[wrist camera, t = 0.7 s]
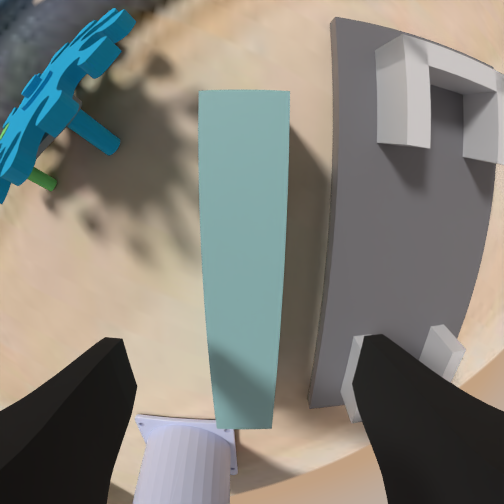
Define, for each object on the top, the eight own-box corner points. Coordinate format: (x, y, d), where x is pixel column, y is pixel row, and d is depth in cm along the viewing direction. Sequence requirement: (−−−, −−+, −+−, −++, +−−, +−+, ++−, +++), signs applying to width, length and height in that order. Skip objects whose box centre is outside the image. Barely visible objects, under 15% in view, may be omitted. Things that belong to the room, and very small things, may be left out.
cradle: (431, 378, 20) (451, 410, 17) (307, 399, 20) (316, 441, 16) (483, 68, 12) (524, 63, 8) (329, 23, 12) (355, -8, 8)
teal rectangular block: (266, 370, 19) (271, 428, 14) (221, 370, 19) (216, 428, 14) (274, 107, 14) (289, 91, 9) (213, 107, 13) (198, 90, 9)
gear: (125, -18, 9) (91, 48, 5) (184, 50, 14) (214, 167, 10) (-1, 109, 12) (-51, 245, 8) (59, 149, 17) (43, 279, 13)
